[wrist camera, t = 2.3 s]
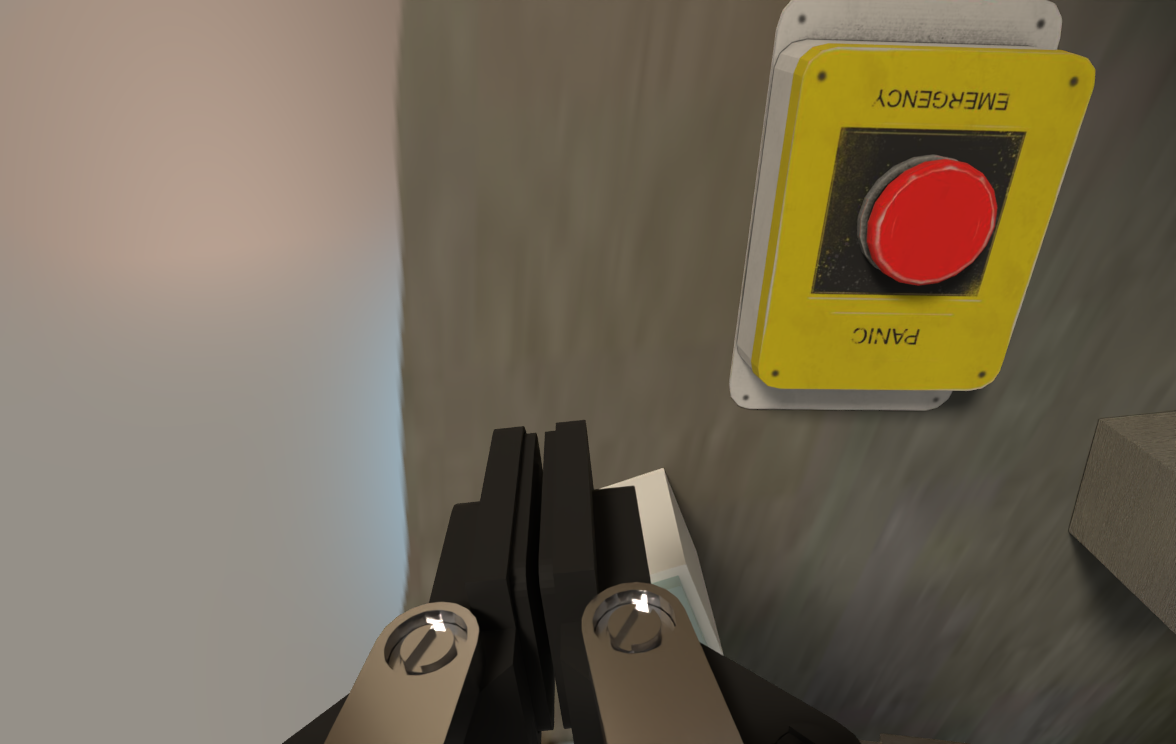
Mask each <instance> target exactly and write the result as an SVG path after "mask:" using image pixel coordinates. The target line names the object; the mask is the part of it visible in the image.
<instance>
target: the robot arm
mask: <svg viewBox="0 0 1176 744" xmlns="http://www.w3.org/2000/svg"><path fill="white" fill-rule="evenodd" d="M555 680H556V686H557V692H558V698H559V703H560V709H561V715H562V721H563V726H564V729H567V728H572V734H573V740H574V744H970V743H961V742H952V741H944V740H935V739H926V738H918V737H909V736H900V735H892V734H883V733H880V740H879V742H872V741H864V740H858V739H857V738H856V736H855V735H854V734H853V733H851V732H850V731H849V730H847V729H846V728H845V727H843V726H842V725H841V724H839V723H838V722H837V721H835V720H833V719H832V718H830V717H828V716H826V715H825V714H823V713H821V712H820V711H818V710H816V709H814V708H813V707H811V706H809V705H808V704H806V703H804V702H802V701H801V700H799V699H797V698H795V697H794V696H792V695H790V694H789V693H787V692H785V691H783V690H782V689H780V688H778V687H777V686H775V685H773V684H771V683H770V682H768V681H766V680H764V679H763V678H761V677H759V676H758V675H756V674H754V673H752V672H751V671H749V670H747V669H746V668H744V667H742V666H740V665H739V664H737V663H735V662H733V661H732V660H730V659H728V658H727V657H725V656H723V655H721V654H720V653H718V652H716V651H715V650H713V649H711V648H709V647H708V646H706V645H704V644H702V643H701V642H699V640H698V638H697V635H696V633H695V631H694V628H693V626H692V624H691V622H690V619H689V617H688V615H687V612H686V610H685V608H684V607H683V605H682V604H681V602H680V601H679V599H678V598H677V597H676V596H674V595H673V594H672V593H671V592H669V591H668V590H667V589H664V588H661V587H659V586H656V585H654V584H651V579H650V573H649V567H648V561H647V555H646V549H645V544H644V538H643V532H642V526H641V520H640V514H639V508H638V502H637V496H636V491H635V486H624V487H615V488H605V489H595V490H594V488H593V479H592V470H591V462H590V453H589V445H588V436H587V428H586V421H585V420H579V421H570V422H560V423H556V431H549V432H545V443H544V463H543V469H542V462H541V456H540V449H539V443H538V437H537V434H536V433H530V434H526V430H525V427H524V426H522V427H512V428H503V429H495V430H494V431H493V436H492V441H491V446H490V452H489V457H488V462H487V467H486V473H485V478H484V483H483V488H482V494H481V499H480V501H479V502H470V503H460V504H456V505H454V507H453V510H452V513H451V517H450V521H449V525H448V529H447V533H446V537H445V541H444V545H443V549H442V553H441V557H440V561H439V565H438V569H437V573H436V577H435V581H434V585H433V589H432V593H431V597H430V601H429V603H427V604H424V605H421V606H418V607H415V608H412V609H410V610H408V611H406V612H405V613H403V614H401V615H399V616H398V617H396V618H395V619H394V620H393V621H392V622H391V623H390V624H388V625H387V626H386V627H385V628H384V630H383V631H382V633H381V634H380V636H379V637H378V638H377V640H376V642H375V644H374V646H373V648H372V650H371V651H370V653H369V656H368V657H367V659H366V661H365V664H364V665H363V667H362V670H361V671H360V673H359V675H358V677H357V679H356V681H355V683H354V685H353V687H352V689H351V691H350V693H349V694H348V695H347V696H345V697H344V698H342V699H341V700H340V701H338V702H337V703H336V704H335V705H333V706H332V707H330V708H329V709H328V710H326V711H325V712H324V713H322V714H321V715H320V716H318V717H317V718H316V719H314V720H313V721H312V722H310V723H309V724H308V725H306V726H305V727H304V728H302V729H301V730H300V731H298V732H297V733H295V734H294V735H293V736H291V737H290V738H289V739H287V740H286V741H285V742H284V743H282V744H541V731H547V730H553V729H554V696H555Z"/></svg>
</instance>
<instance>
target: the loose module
mask: <svg viewBox="0 0 1176 744" xmlns="http://www.w3.org/2000/svg"><path fill="white" fill-rule="evenodd" d="M624 486H635V491H636V496H637V502H638V508H639V514H640V520H641V526H642V532H643V538H644V544H645V549H646V555H647V561H648V567H649V573H650V579H651V584H654V585H656V586H659V587H661V588H664V589H667V590H668V591H669V592H671V593H672V594H673V595H674V596H676V597H677V598H678V599H679V601H680V602H681V604H682V605H683V607H684V608H685V610H686V612H687V615H688V617H689V619H690V622H691V624H692V626H693V628H694V631H695V633H696V635H697V638H698V640H699V642H701V643H702V644H704V645H706V646H708V647H709V648H711V649H713V650H715V651H716V652H718V653H720V654H721V655H723V651H722V647H721V643H720V639H719V636H718V632H717V628H716V624H715V620H714V616H713V613H712V609H711V605H710V601H709V597H708V593H707V590H706V586H705V582H704V578H703V574H702V570H701V567H700V563H699V559H698V555H697V551H696V549H695V546H694V544H693V541H692V539H691V536H690V534H689V531H688V529H687V526H686V524H685V521H684V519H683V516H682V514H681V511H680V508H679V506H678V503H677V501H676V498H675V496H674V493H673V491H672V488H671V486H670V483H669V481H668V478H667V476H666V473H665V471H664V468H662V469H658V470H655V471H652V472H649V473H646V474H643V475H640V476H637V477H634V478H631V479H628V480H625V481H622V482H619V483H616V484H613V485H610V486H607V487H604V488H601V489H605V488H615V487H624ZM723 656H724V655H723Z"/></svg>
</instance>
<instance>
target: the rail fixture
mask: <svg viewBox="0 0 1176 744" xmlns="http://www.w3.org/2000/svg"><path fill="white" fill-rule="evenodd" d="M1069 532H1070V533H1071V534H1072V535H1073V536H1074V537H1075V538H1076V539H1077V540H1078V541H1079V542H1081V543H1082V544H1083V545H1084V546H1085V547H1086V548H1087V549H1088V550H1089V551H1090V552H1091V553H1092V554H1093V555H1094V556H1095V557H1096V558H1097V559H1098V560H1099V561H1100V562H1101V563H1102V564H1103V565H1104V566H1105V567H1106V568H1108V569H1109V570H1110V571H1111V572H1112V573H1113V574H1114V575H1115V576H1116V577H1117V578H1118V579H1119V580H1120V581H1121V582H1122V583H1123V584H1124V585H1125V586H1126V587H1127V588H1128V589H1129V590H1130V591H1131V592H1132V593H1133V594H1134V595H1136V596H1137V597H1138V598H1139V599H1140V600H1141V601H1142V602H1143V603H1144V604H1145V605H1146V606H1147V607H1148V608H1149V609H1150V610H1151V611H1152V612H1153V613H1154V614H1155V615H1156V616H1157V617H1158V618H1159V619H1160V620H1161V621H1162V622H1164V623H1165V624H1166V625H1167V626H1168V627H1169V628H1170V629H1171V630H1172V631H1173V632H1174V633H1175V634H1176V411H1174V412H1164V413H1154V414H1144V415H1134V416H1124V417H1114V418H1104V419H1099V421H1098V425H1097V429H1096V432H1095V436H1094V440H1093V443H1092V447H1091V451H1090V454H1089V458H1088V462H1087V465H1086V469H1085V473H1084V476H1083V480H1082V483H1081V487H1080V491H1079V494H1078V498H1077V502H1076V505H1075V509H1074V513H1073V516H1072V520H1071V524H1070V527H1069Z"/></svg>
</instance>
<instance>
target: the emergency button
mask: <svg viewBox="0 0 1176 744" xmlns="http://www.w3.org/2000/svg"><path fill="white" fill-rule="evenodd" d="M1061 24H1062V17H1061V15H1060V13H1059V10H1058V8H1057V6H1056V4H1055V3H1052V2H1050V1H1048V0H791V1H790V3H789V4H788V5H787V6H786V7H785V8H784V9H783V11H782V14H781V17H780V19H779V22H778V25H777V28H776V34H775V42H774V49H773V57H772V64H771V72H770V79H769V87H768V94H767V102H766V109H765V117H764V124H763V132H762V139H761V147H760V154H759V162H758V169H757V177H756V184H755V192H754V199H753V207H752V214H751V222H750V229H749V237H748V244H747V252H746V260H745V267H744V275H743V282H742V290H741V297H740V305H739V312H738V320H737V327H736V335H735V342H734V350H733V357H732V365H731V372H730V380H729V387H730V395H731V397H732V398H733V399H734V401H735V402H736V403H737V404H738V406H742V407H745V408H748V409H813V410H916V411H926V410H930V409H934V408H938V407H939V406H940V405H941V404H943V403H944V402H945V401H946V400H948V399H949V397H950V395H951V393H952V391H970V390H975V389H980V388H983V387H985V386H986V385H988V384H989V383H991V382H992V381H993V380H994V379H995V377H996V376H997V374H998V373H999V371H1000V369H1001V366H1002V363H1003V360H1004V357H1005V354H1006V350H1007V347H1008V344H1009V341H1010V338H1011V335H1012V332H1013V329H1014V326H1015V323H1016V320H1017V317H1018V314H1019V311H1020V308H1021V305H1022V302H1023V299H1024V296H1025V293H1026V290H1027V287H1028V284H1029V281H1030V278H1031V275H1032V272H1033V269H1034V266H1035V263H1036V260H1037V257H1038V254H1039V251H1040V248H1041V245H1042V242H1043V239H1044V236H1045V233H1046V230H1047V227H1048V224H1049V221H1050V218H1051V215H1052V212H1053V209H1054V205H1055V202H1056V199H1057V196H1058V193H1059V190H1060V187H1061V184H1062V181H1063V178H1064V175H1065V172H1066V169H1067V166H1068V163H1069V160H1070V157H1071V154H1072V151H1073V148H1074V145H1075V142H1076V139H1077V136H1078V133H1079V130H1080V127H1081V124H1082V121H1083V118H1084V115H1085V112H1086V109H1087V106H1088V103H1089V100H1090V97H1091V94H1092V91H1093V88H1094V82H1095V69H1094V67H1093V65H1092V64H1091V62H1090V61H1089V59H1088V58H1085V57H1082V56H1080V55H1077V54H1073V53H1070V52H1067V51H1063V50H1057V47H1058V44H1059V40H1060V34H1061Z"/></svg>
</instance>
